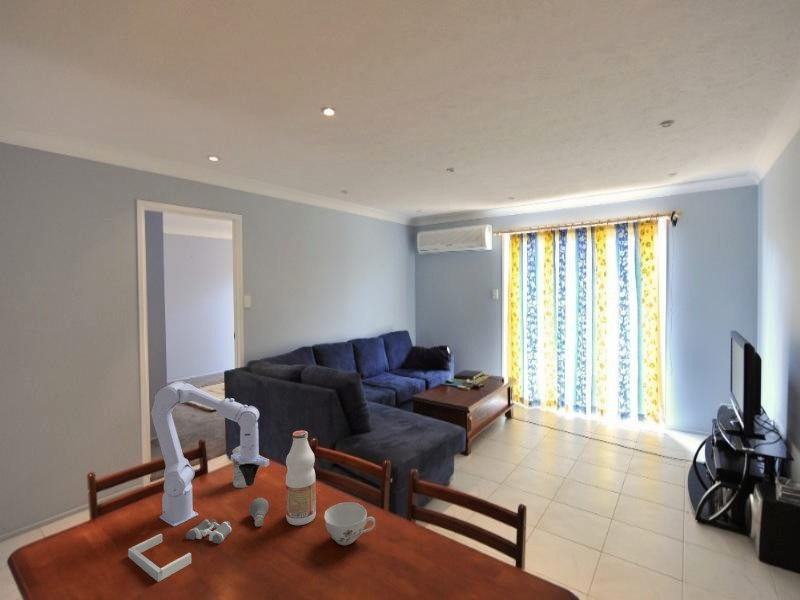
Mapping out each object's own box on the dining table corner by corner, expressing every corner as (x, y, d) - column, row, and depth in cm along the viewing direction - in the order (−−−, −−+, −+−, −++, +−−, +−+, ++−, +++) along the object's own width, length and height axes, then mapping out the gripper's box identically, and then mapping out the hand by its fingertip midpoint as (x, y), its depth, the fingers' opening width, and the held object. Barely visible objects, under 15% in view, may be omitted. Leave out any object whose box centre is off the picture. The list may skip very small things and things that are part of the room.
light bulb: (262, 512, 122) (261, 490, 132) (244, 524, 122) (245, 501, 131) (272, 524, 125) (271, 501, 134) (255, 535, 124) (256, 511, 133)
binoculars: (185, 541, 118) (185, 529, 118) (204, 525, 126) (203, 514, 126) (221, 545, 115) (220, 533, 115) (237, 529, 123) (237, 518, 123)
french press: (238, 478, 157) (237, 416, 157) (266, 479, 156) (265, 416, 156) (225, 490, 147) (224, 424, 147) (254, 492, 146) (253, 425, 146)
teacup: (319, 552, 111) (319, 524, 111) (329, 526, 124) (329, 501, 124) (373, 553, 111) (372, 525, 111) (377, 527, 123) (376, 502, 123)
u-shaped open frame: (128, 557, 110) (128, 549, 110) (160, 541, 117) (160, 533, 117) (158, 582, 100) (158, 572, 100) (191, 563, 107) (191, 553, 107)
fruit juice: (296, 530, 122) (295, 440, 122) (280, 518, 129) (279, 433, 128) (321, 517, 129) (320, 432, 129) (305, 507, 135) (304, 425, 135)
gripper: (223, 445, 131) (224, 486, 131) (258, 451, 126) (259, 493, 126) (239, 438, 138) (239, 477, 138) (273, 443, 133) (273, 483, 133)
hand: (250, 484), depth 132 cm, fingers closed
